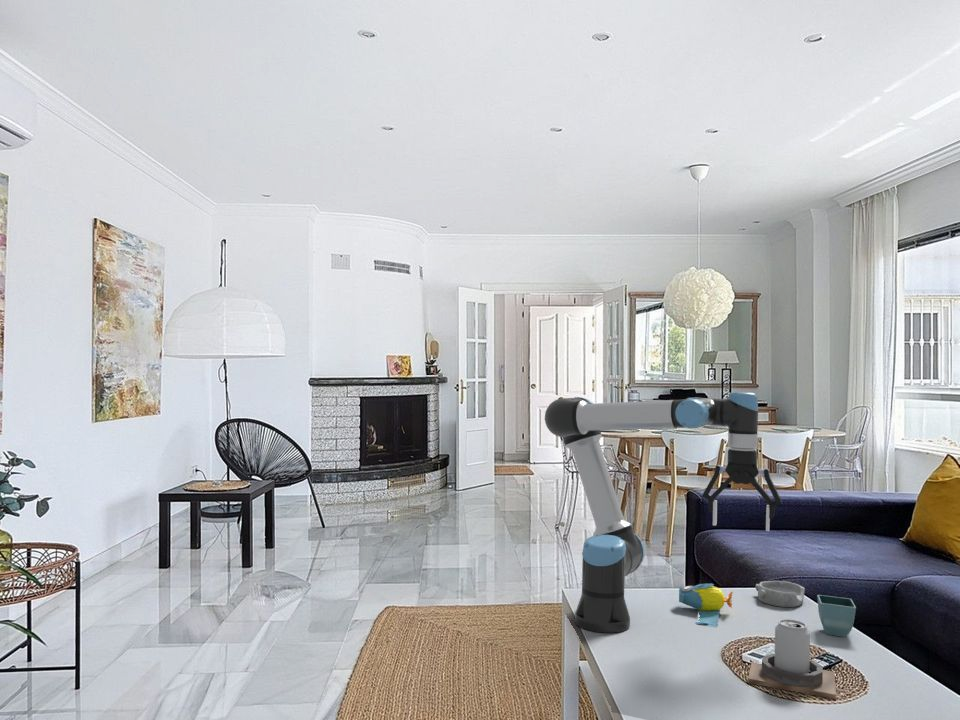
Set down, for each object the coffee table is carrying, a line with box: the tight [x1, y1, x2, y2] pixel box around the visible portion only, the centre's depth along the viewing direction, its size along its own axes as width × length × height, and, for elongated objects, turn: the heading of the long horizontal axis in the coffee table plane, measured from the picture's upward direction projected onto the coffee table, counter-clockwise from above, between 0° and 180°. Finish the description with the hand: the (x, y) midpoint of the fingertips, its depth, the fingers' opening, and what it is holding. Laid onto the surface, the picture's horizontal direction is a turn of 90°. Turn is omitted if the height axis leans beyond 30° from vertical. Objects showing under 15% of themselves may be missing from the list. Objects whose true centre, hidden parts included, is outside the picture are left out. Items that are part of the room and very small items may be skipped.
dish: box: [755, 580, 806, 608], centre depth 232 cm, size 14×14×5 cm
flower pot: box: [816, 594, 857, 638], centre depth 203 cm, size 9×9×9 cm
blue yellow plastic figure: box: [678, 582, 734, 628], centre depth 220 cm, size 28×9×15 cm
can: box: [774, 618, 811, 673], centre depth 171 cm, size 8×8×12 cm
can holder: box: [747, 653, 837, 700], centre depth 171 cm, size 18×14×4 cm
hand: (740, 527), depth 201 cm, fingers open, 13 cm apart
